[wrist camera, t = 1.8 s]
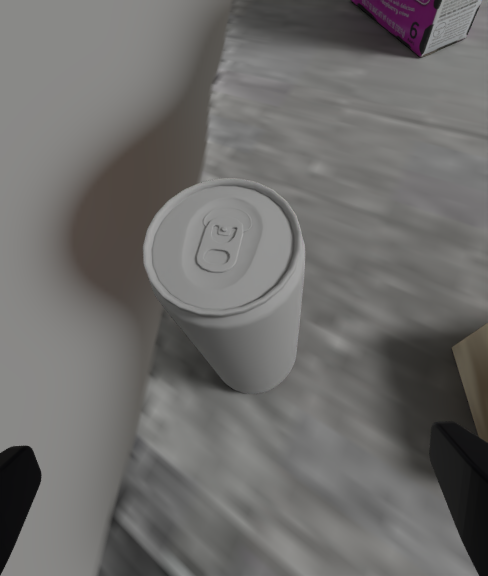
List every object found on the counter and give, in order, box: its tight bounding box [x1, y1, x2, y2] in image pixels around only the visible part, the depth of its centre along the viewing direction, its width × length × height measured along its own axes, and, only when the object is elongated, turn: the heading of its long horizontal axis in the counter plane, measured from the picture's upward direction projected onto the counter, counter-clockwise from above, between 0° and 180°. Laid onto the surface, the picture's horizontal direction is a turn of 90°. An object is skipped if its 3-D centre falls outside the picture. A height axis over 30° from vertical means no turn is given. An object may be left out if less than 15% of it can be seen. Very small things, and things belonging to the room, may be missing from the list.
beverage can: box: [143, 178, 305, 394], centre depth 16 cm, size 5×5×12 cm
